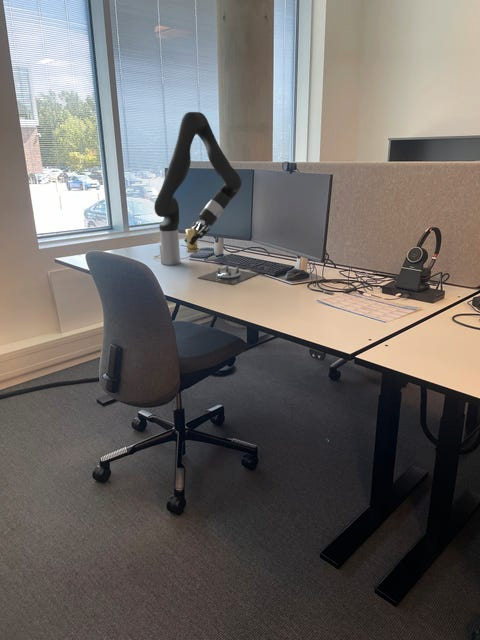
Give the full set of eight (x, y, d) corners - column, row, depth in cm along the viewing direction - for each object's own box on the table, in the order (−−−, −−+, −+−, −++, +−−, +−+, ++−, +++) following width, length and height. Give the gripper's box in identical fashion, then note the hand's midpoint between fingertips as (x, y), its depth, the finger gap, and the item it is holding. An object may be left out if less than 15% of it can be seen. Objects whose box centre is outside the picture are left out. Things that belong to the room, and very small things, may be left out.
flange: (197, 278, 207) (197, 269, 206) (224, 268, 222) (224, 260, 221) (233, 285, 196) (232, 275, 194) (258, 274, 211) (258, 265, 209)
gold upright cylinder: (184, 251, 204) (182, 229, 201) (192, 249, 208) (190, 227, 205) (193, 253, 201) (191, 230, 198) (200, 250, 205) (199, 228, 202)
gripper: (198, 205, 207) (176, 235, 206) (212, 209, 195) (188, 240, 195) (210, 216, 211) (187, 245, 211) (223, 220, 200) (200, 251, 199)
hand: (188, 242), depth 203 cm, fingers closed on gold upright cylinder, 4 cm apart
